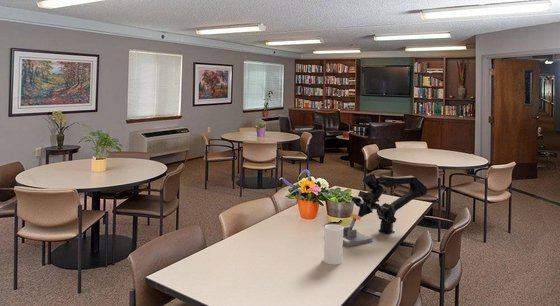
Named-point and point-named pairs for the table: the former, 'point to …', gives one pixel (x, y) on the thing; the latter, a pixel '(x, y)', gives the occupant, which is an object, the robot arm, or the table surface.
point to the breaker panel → (354, 237)
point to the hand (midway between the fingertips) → (358, 217)
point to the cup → (333, 244)
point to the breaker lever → (353, 221)
